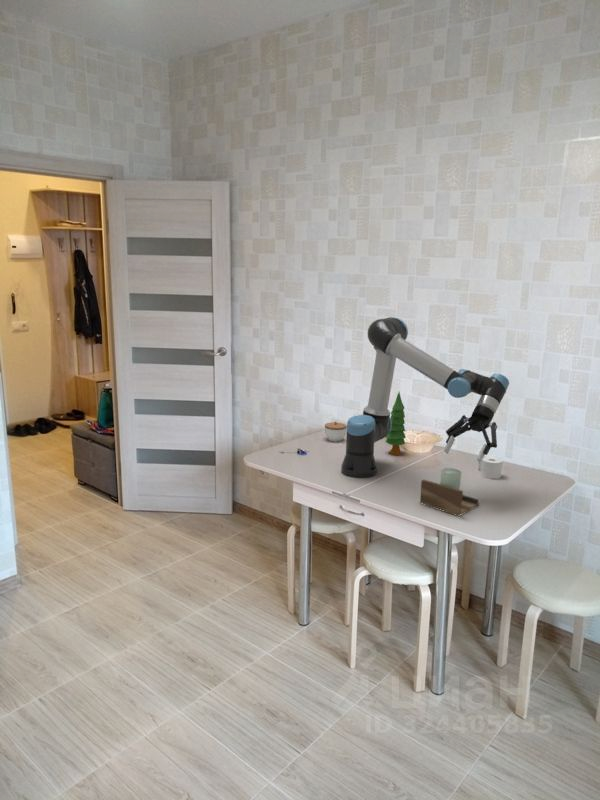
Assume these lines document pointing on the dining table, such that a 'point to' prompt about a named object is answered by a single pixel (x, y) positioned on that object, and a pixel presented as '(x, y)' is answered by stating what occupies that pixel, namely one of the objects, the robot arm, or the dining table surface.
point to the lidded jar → (335, 431)
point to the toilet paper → (490, 467)
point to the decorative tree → (397, 427)
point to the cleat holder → (446, 498)
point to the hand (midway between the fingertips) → (461, 456)
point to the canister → (451, 478)
